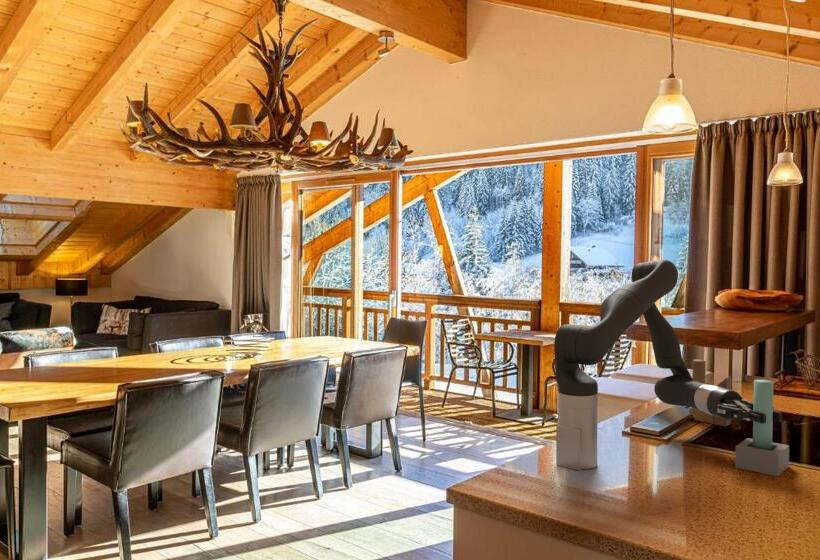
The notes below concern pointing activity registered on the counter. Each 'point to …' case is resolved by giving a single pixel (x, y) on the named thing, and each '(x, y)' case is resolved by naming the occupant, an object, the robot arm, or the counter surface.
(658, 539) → the counter surface
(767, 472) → the socket block
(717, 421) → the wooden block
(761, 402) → the peg
